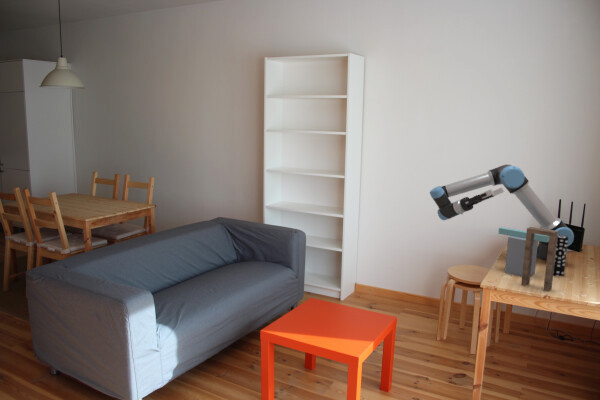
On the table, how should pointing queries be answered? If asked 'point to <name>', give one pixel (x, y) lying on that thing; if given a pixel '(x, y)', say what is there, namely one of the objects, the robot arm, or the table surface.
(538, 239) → the bar
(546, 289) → the stand
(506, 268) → the block
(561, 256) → the white-spotted black cylinder
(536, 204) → the robot arm
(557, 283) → the table surface
